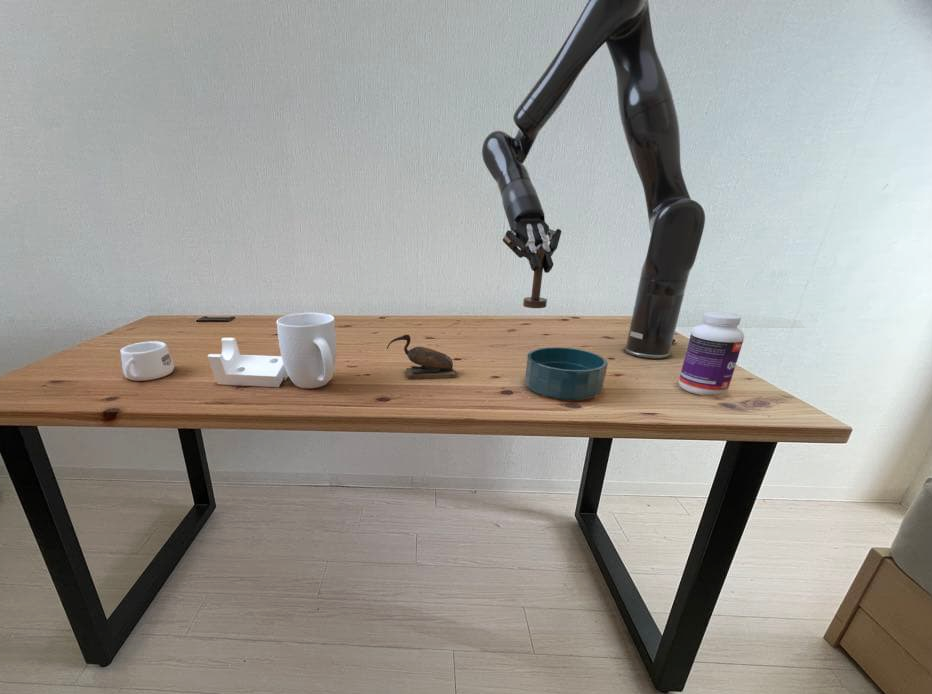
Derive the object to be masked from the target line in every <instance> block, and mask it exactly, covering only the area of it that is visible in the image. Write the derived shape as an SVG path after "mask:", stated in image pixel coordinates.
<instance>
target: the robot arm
mask: <svg viewBox="0 0 932 694" xmlns="http://www.w3.org/2000/svg"><path fill="white" fill-rule="evenodd" d="M605 44H606V47H607V49H608V51H609V55H610V58H611V61H612V63H613V68H614V72H615V77H616V91H617V93H616V94H617V102H618V103H617V104H618V112H619V117H620V122H621V126H622V130H623V134H624V137H625V141H626V144H627V146H628V150H629V153H630V156H631V159H632V162H633V165H634V168H635V170H636V172H637V174H638V177H639V179H640V182H641V185H642V188H643V189H642V190H643V193H644V198H645V205H646V210H647V220H648V226H649V232H650V239H649V243H648V248H647V251H646V256H645V259H644V262H643V264H642V266H641V271H640V277H639V282H638V286H637V292H636V296H635V300H634V306H633V311H632V316H631V320H630V325H629V330H628V335H627V339H626V345H625V346H624V352H625V353H627V354H629V355H631V356H635V357H638V358H643V359H655V360H656V359H659V360H661V359H667V358H669V357H670V356H671V350H672V349H671V348H672V346H673V344H674V343H676V338H675V334H676V329H677V325H678V321H679V316H680V313H681V309H682V305H683V302H684V298H685V297H684V296H685V292H686V288H687V285H688V279H689V276H690V272H691V270H692V269H693V267H694V265H695V262H696V259H697V255H698V252H699V248H700V245H701V240H702V237H703V233H704V229H705V225H706V213H705V210H704V207H703V206H702V205H701V204H700V203H699V202H698V201H696V200H694V199H692V198H691V195H690V192H689V191H688V188H687V185H686V181H685V179H684V175H683V171H682V164H681V163H682V162H681V135H680V125H679V117H678V114H677V109H676V104H675V101H674V98H673V94H672V90H671V87H670V84H669V80H668V77H667V75H666V73H665V69H664V67H663V64H662V62H661V60H660V58H659V54H658V52H657V48H656V45H655V41H654V34H653V28H652V21H651V12H650V3H649V0H588V1H587V3H586V5H585V6H584V8H583V9H582V12H581V13H580V15H579V17H578V19H577V20H576V23H575V24H574V25H573V27H572V29H571V31H570V33H569V34H568V36H567V37H566V39H565V40H564V42H563V44H562V45H561V47H560V48H559V50H558V52H557V53H556V55H555V56H554V57H553V58H552V60H551V62H550V63H549V65H548V66H547V68H546V69H545V70H544V72H543V73H542V75H541V76H540V78H538V80H537V81H536V82H535V84H534V85H533V87H532V88H531V89H530V91H529V92H528V93H527V95H526V96H525V97H524V99H523V100H522V101H521V103H520V104H519V106H517V108H516V110H514V111H515V112H514V113H513V116H512V120H513V122H514V124H515V126H516V127H517V128H518V130H517V132H516V135H515V136H514V137H513V136H511V134H508V133H507V132H504V131H502V130H494V131H492V132H490V133H489V134H488V135H487V136H486V137H485V139H484V141H483V143H482V147H481V156H482V160H483V163H484V165H485V167H486V169H487V170H488V172H489V174H490V175H491V177H492V178H493V180H494V181H495V183H496V184H497V187H498V190H499V193H500V196H501V201H502V206H503V207H502V208H503V210H504V213H505V216H506V219H507V222H508V225H509V228H510V229H508V230H506V232H505V234H504V236H503V238H502V242H503V243H504V244H505V245H506V246H507V247H508V248H509V249H510V250H511V251H512V252H513V253H514V254H515V255H516V256H517V257H518V258H519V259H521V258H523V257H524V258H525V259H526V260H528V263H529V267H530V269H531V271H532V272H533V274H534V273H539V272H540V270H541V269H542V265H541V262H540V259H539V256H538V253H536V249H545V257H544V265H543V273H545V274H547V273H550V272H551V270H552V269H553V267H554V262H553V259H552V256H553V254H554V253H555V252H556V250H557V249H558V246H559V242H560V239H561V235H562V230H561V229H560V228H557V229H555V230H553V229H551V228H550V226H549V224H548V223H547V222H546V220H545V219H546V217H545V211H544V209H543V206H542V204H541V201H540V199H539V195H538V193H537V190H536V188H535V186H534V184H533V182H532V179H531V177H530V174H529V171H528V169H527V167H526V166H525V165H524V163H525V162H526V160H527V158H528V156H529V155H530V151H531V149H532V148H533V146H534V143H535V142H536V140H537V138H538V136H539V134H540V131H541V130H542V129H543V128H544V127H545V126H546V125H547V123H548V122H549V120H550V119H551V118H552V117H553V115H554V114H555V113H556V112H557V111H558V109H559V108H560V107H561V105H562V103H563V102H564V101H565V99H566V98H567V96H568V95H569V93H570V91H571V89H572V87H573V86H574V84H575V82H576V81H577V79H578V78H579V76H580V74H581V73H582V71H583V70H584V68H585V67H586V66H587V64H589V61H590V60H591V59H592V58H593V56H595V54H596V53H597V52H598V51H599V49H601V47H602V46H603V45H605ZM674 338H675V339H674Z"/></svg>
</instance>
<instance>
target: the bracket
mask: <svg viewBox="0 0 932 694" xmlns="http://www.w3.org/2000/svg"><path fill="white" fill-rule="evenodd" d="M220 342H221V353H208V355H207V357H206V358H207V360H208V362H209V363H208V364H209V365H210V369H211V371H212V374H213V376H214V379H215V382H216V385H226V386H246V387H248V386H249V387H263V388H264V387H265V388H269V387H270V388H280V386H281V384H282V382H283V381H287V379H288V378H289V376H288V374H287V371H286V369H285V367H284V364H283V361H282V357H281V355H261V354H260V355H259V354H241V353H240V349H239V347H238V343H237V340H236V338H235V337H222V338H221V340H220Z"/></svg>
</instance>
